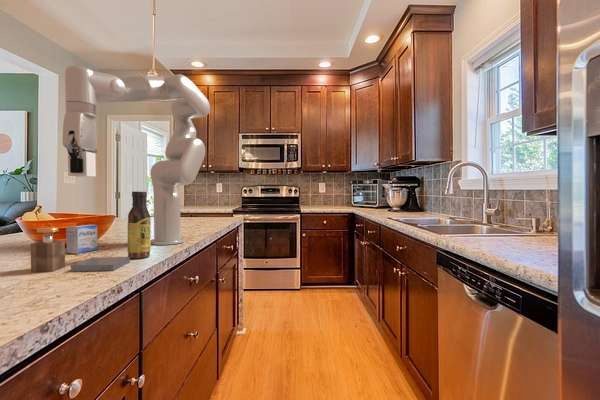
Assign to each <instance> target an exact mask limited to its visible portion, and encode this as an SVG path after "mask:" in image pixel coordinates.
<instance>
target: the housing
mask: <svg viewBox="0 0 600 400" xmlns="http://www.w3.org/2000/svg"><path fill="white" fill-rule="evenodd" d="M77 152H78V151H77ZM81 159H83V173H71V172H70V158H69V153H68V152H67V173H68V174H67V176H69V177H81V178H83V177H85V178H86V177H88V178H89V177H93V178H94V177H97V175H96V174H97V171H96V170H97V169H96V167H97V166H96V154H95V153H91V152H87V151H82V156H81Z"/></svg>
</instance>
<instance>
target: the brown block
mask: <svg viewBox="0 0 600 400" xmlns="http://www.w3.org/2000/svg"><path fill="white" fill-rule="evenodd" d="M65 241H66V240H54V239H53V242H51V243H43V240H42V241H37V242H32V243H30V273H49V272H51V273H52V272H55V271H57V270H61V269H63V268H65V267H66V247H65V245H66V244H65V243H66V242H65Z"/></svg>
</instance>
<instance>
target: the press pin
mask: <svg viewBox="0 0 600 400" xmlns="http://www.w3.org/2000/svg"><path fill="white" fill-rule="evenodd" d="M59 229H60V227H57V226H55V227H54V226H50V227H38V228H36V233H37V234H42V241H43V243H51V242H53V241H54V233H57V232H58V233H59V231H60V230H59Z"/></svg>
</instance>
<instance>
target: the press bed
mask: <svg viewBox="0 0 600 400" xmlns="http://www.w3.org/2000/svg"><path fill="white" fill-rule="evenodd" d="M130 263H131V258H130V257H128V256H109V257H106V256H104V257H103V256H100V257H98V256H97V257H94V256H93V257H90V258H87V259H84V260H82V261H79V262H76V263H74V264H72V265H70V272H71V271H76V272H109V271H110V272H112V271H116V270H117V269H119V268H121V267H124V266H125V265H128V264H130Z"/></svg>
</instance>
